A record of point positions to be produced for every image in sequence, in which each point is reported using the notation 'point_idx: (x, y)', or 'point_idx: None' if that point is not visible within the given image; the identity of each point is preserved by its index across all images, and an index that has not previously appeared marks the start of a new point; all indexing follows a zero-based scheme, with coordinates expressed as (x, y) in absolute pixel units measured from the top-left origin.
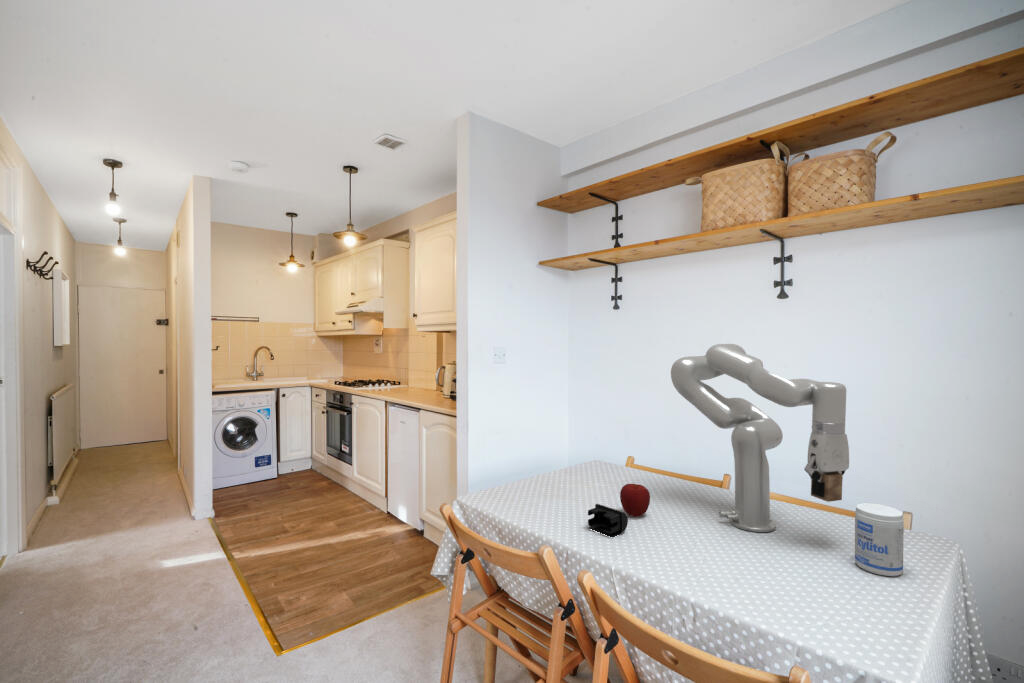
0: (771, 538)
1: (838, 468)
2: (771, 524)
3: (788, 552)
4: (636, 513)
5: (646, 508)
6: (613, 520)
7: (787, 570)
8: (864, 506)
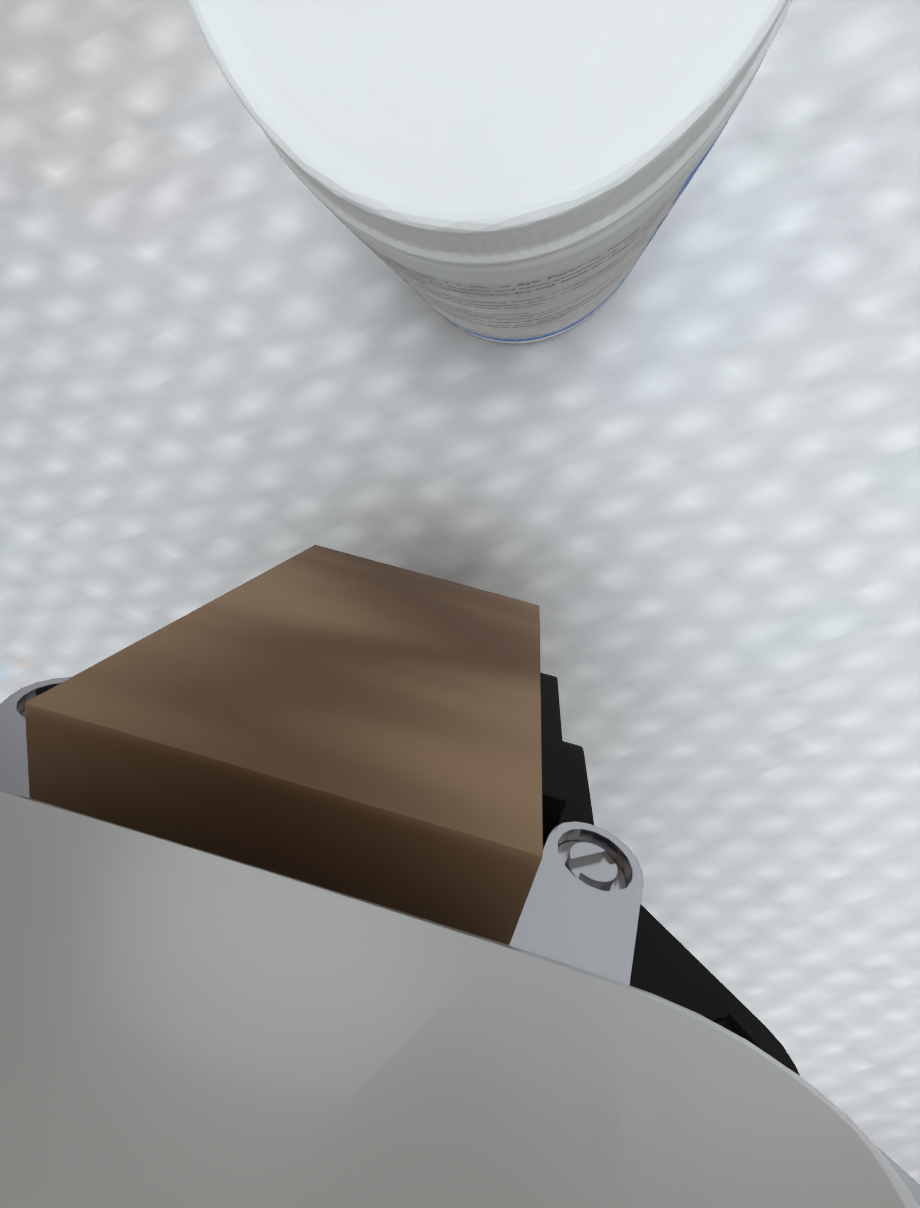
0: (586, 753)
1: (53, 898)
2: None
3: (710, 626)
4: None
5: None
6: None
7: None
8: (535, 73)
